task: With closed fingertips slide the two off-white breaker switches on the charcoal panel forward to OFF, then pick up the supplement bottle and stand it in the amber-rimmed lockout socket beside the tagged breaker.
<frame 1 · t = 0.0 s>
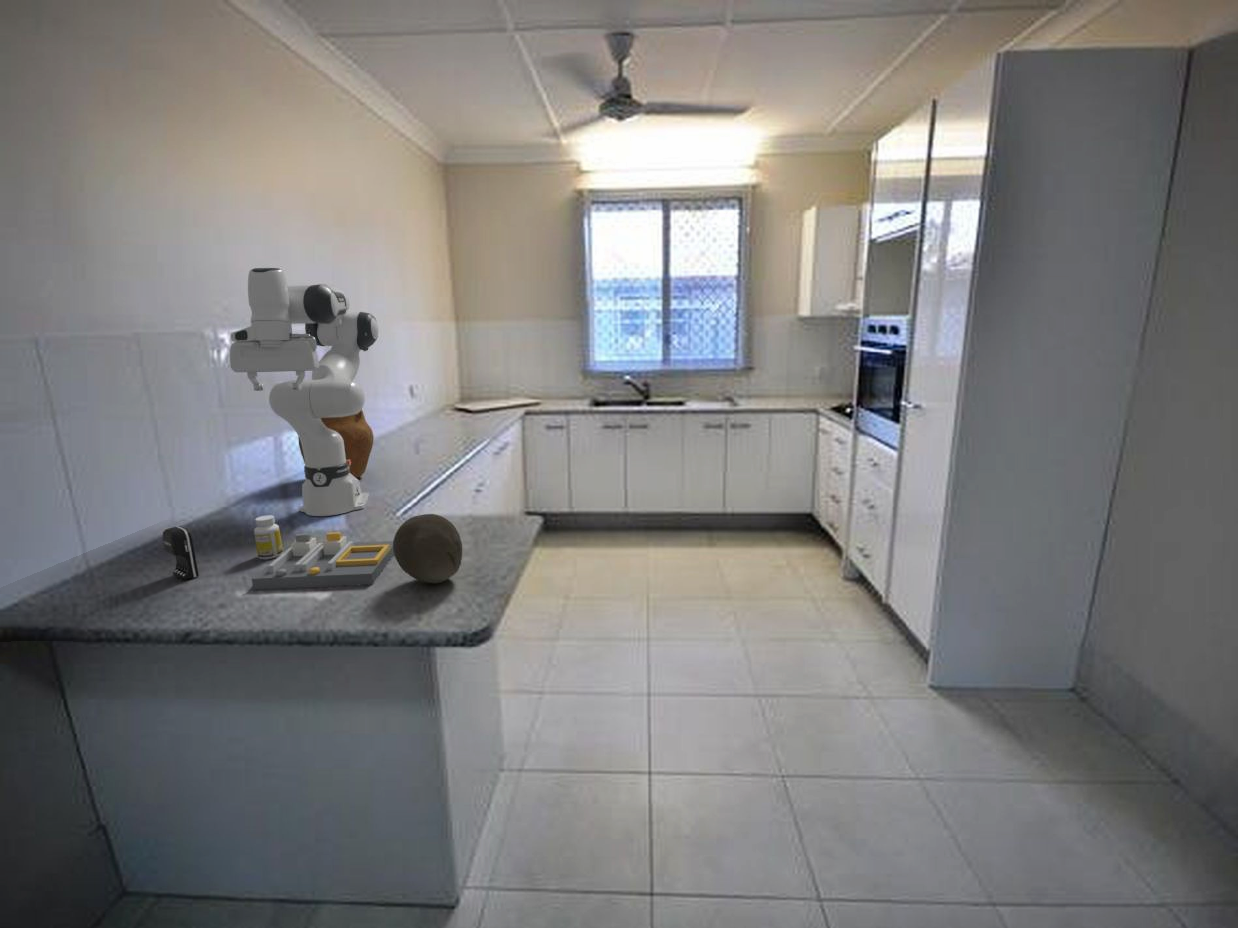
hand: (278, 390, 157), 39 cm above the countertop, tool pointing down, fingers open, 8 cm apart
supplement bottle: (271, 556, 153), on the countertop
breaker panel: (331, 568, 144), on the countertop
black electronic device: (184, 577, 141), on the countertop
dark brown ball: (431, 582, 136), on the countertop
breaker 1: (304, 543, 146), point 5 cm above the countertop, slide at 0.0 cm
breaker 2: (334, 542, 147), point 5 cm above the countertop, slide at 0.0 cm
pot: (342, 479, 224), on the countertop
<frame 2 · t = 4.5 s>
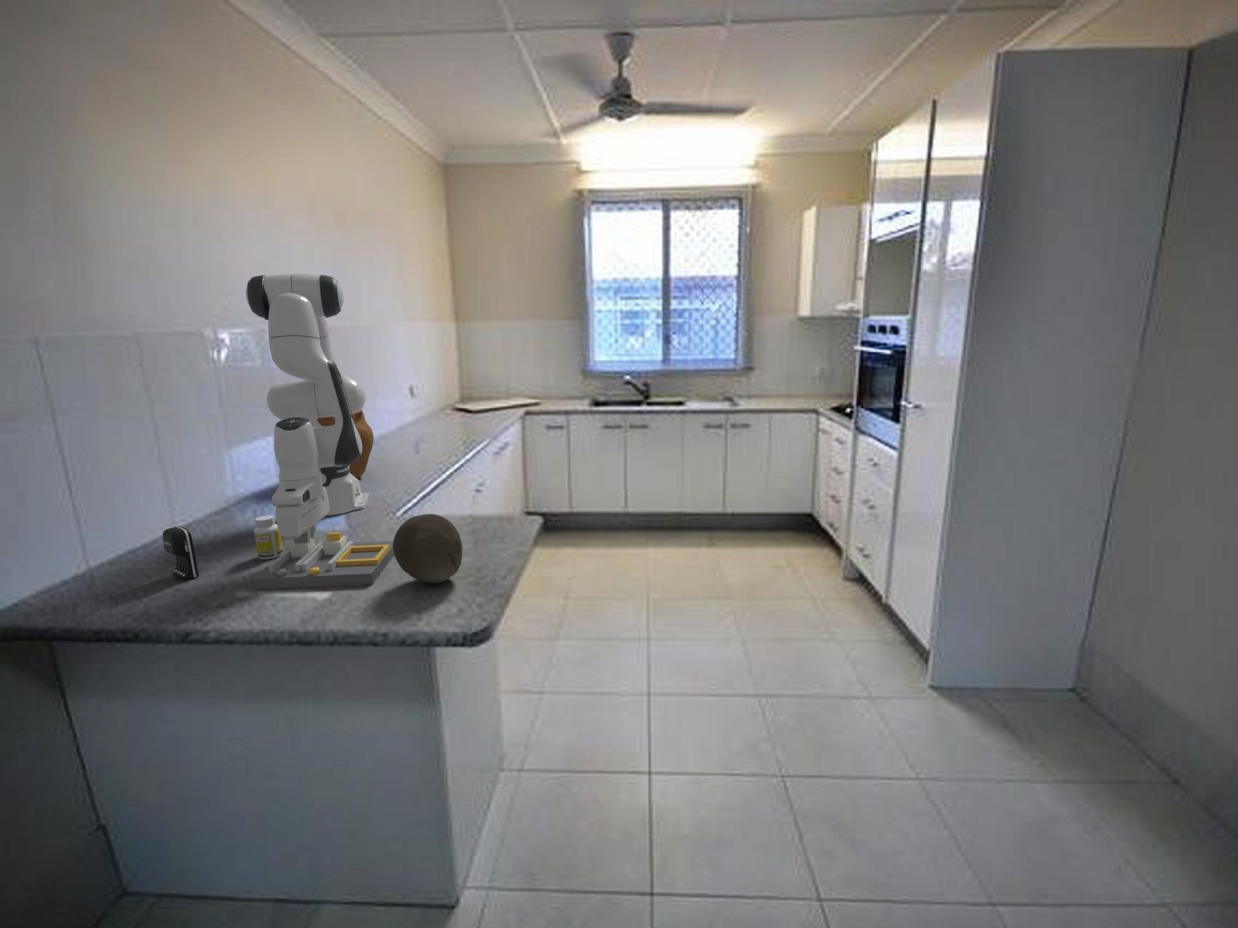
hand: (309, 543, 149), 4 cm above the countertop, tool pointing down, fingers closed
breaker 1: (302, 544, 146), point 5 cm above the countertop, slide at 0.9 cm, touching gripper
everything else where it was.
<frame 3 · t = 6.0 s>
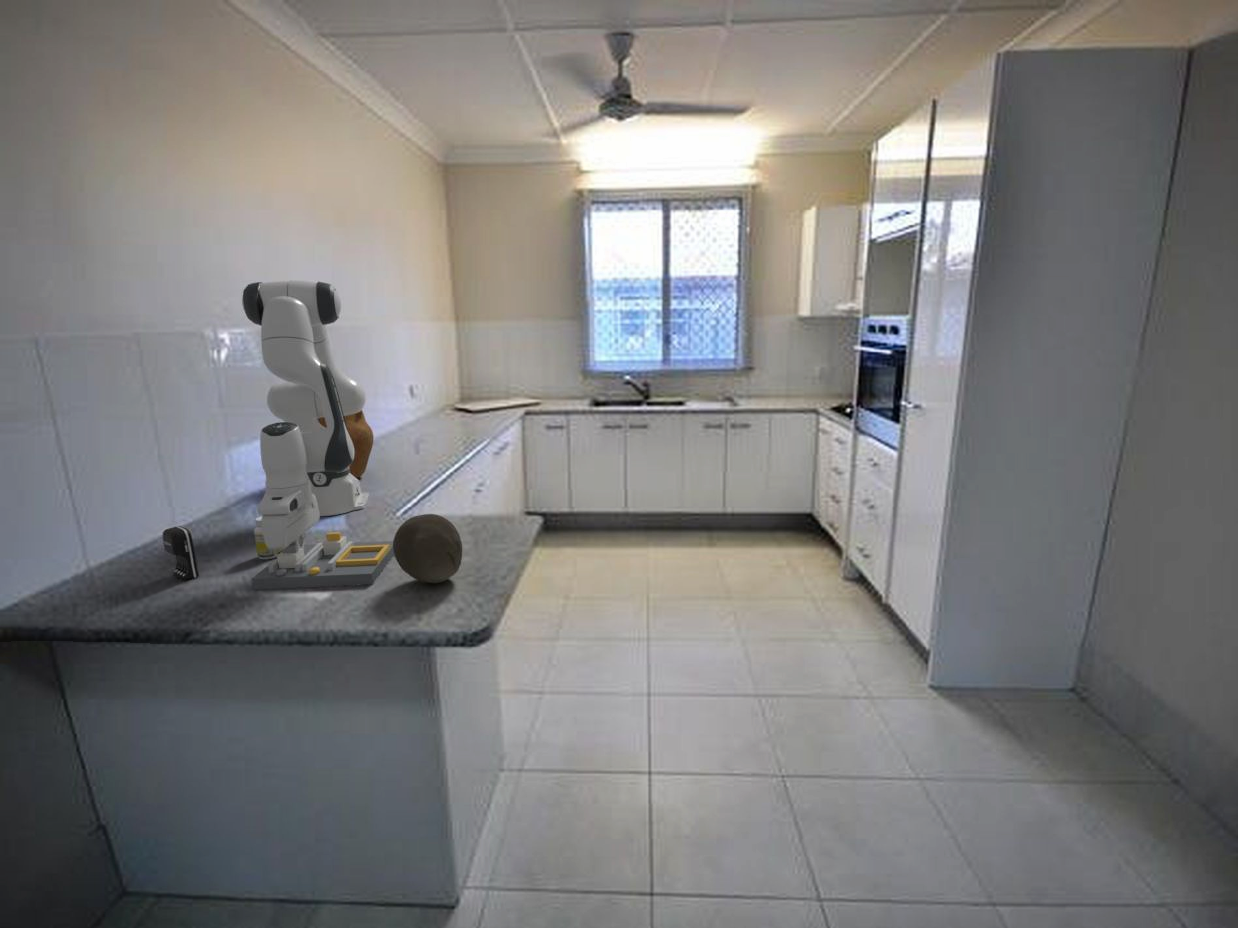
hand: (298, 553, 143), 4 cm above the countertop, tool pointing down, fingers closed
breaker 1: (290, 554, 139), point 5 cm above the countertop, slide at 7.1 cm, touching gripper
everything else where it was.
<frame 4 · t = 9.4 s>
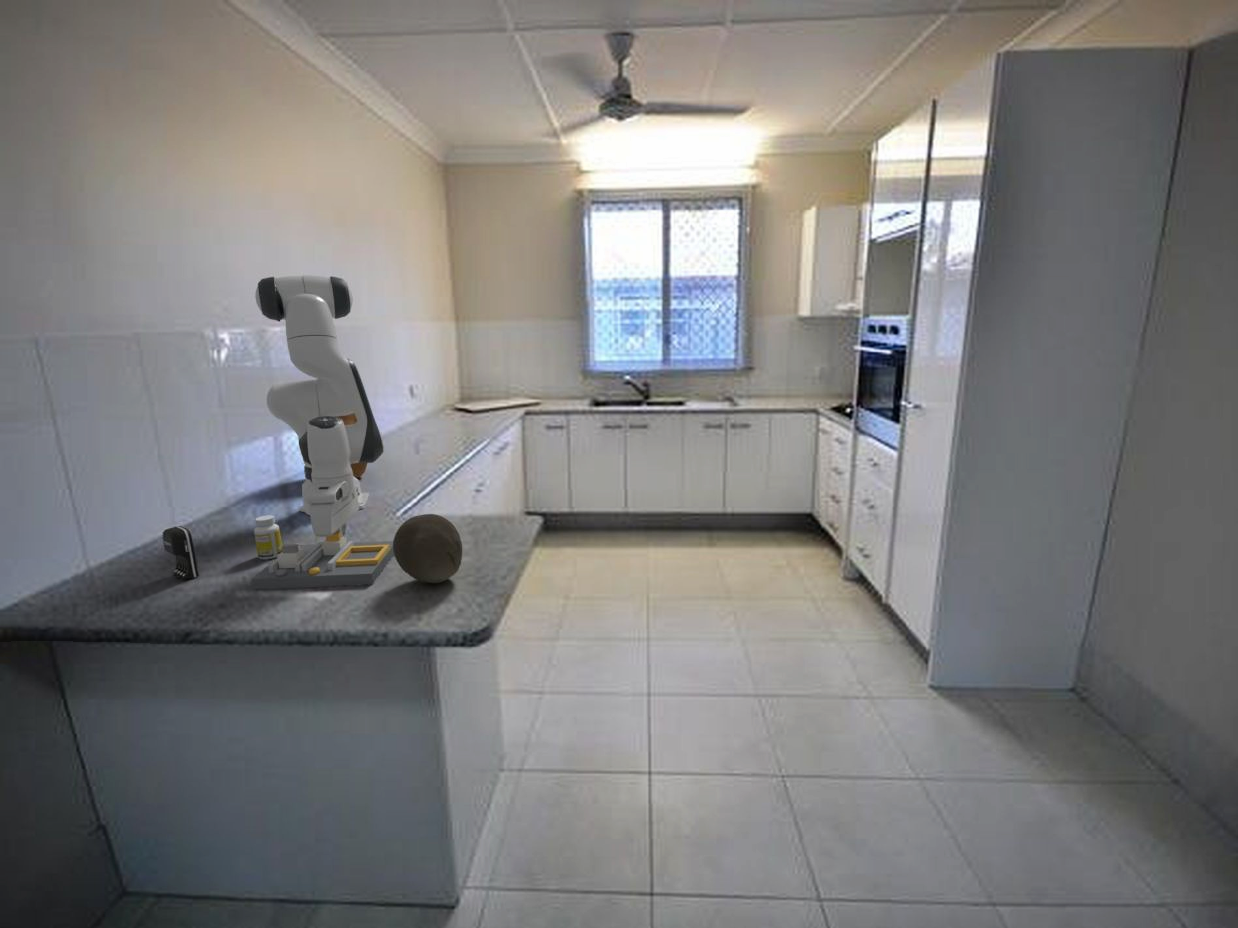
hand: (341, 541, 150), 4 cm above the countertop, tool pointing down, fingers closed
breaker 1: (291, 554, 139), point 5 cm above the countertop, slide at 7.0 cm
breaker 2: (334, 542, 147), point 5 cm above the countertop, slide at 0.3 cm, touching gripper
everything else where it was.
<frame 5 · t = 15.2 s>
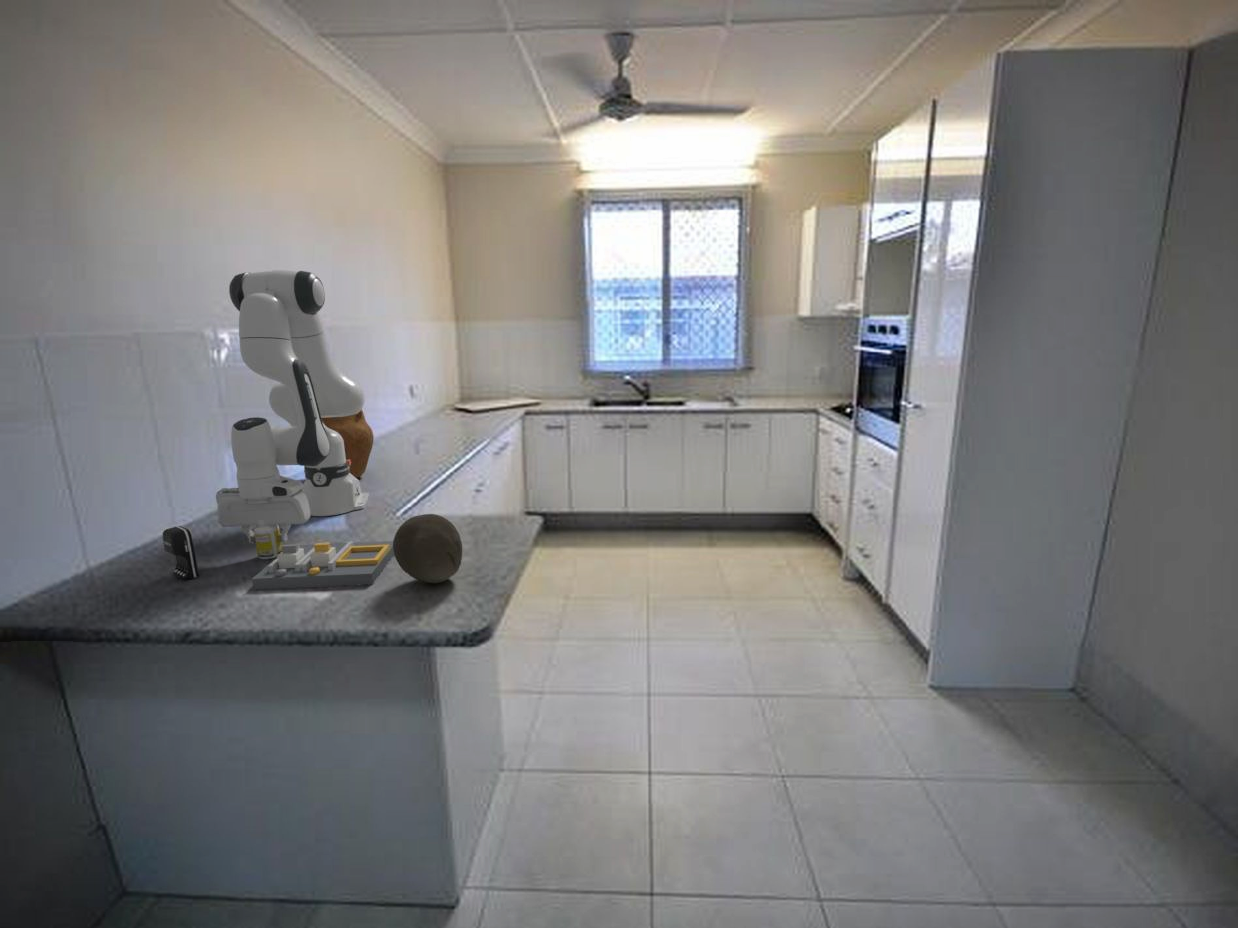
hand: (268, 541, 152), 4 cm above the countertop, tool pointing down, fingers closed on supplement bottle, 5 cm apart
supplement bottle: (271, 556, 153), on the countertop, touching gripper
breaker 2: (323, 553, 140), point 5 cm above the countertop, slide at 7.0 cm
everything else where it was.
when the fingers open (7 cm above the countertop, at t = 21.0 s): supplement bottle stays where it is, resting on breaker panel.
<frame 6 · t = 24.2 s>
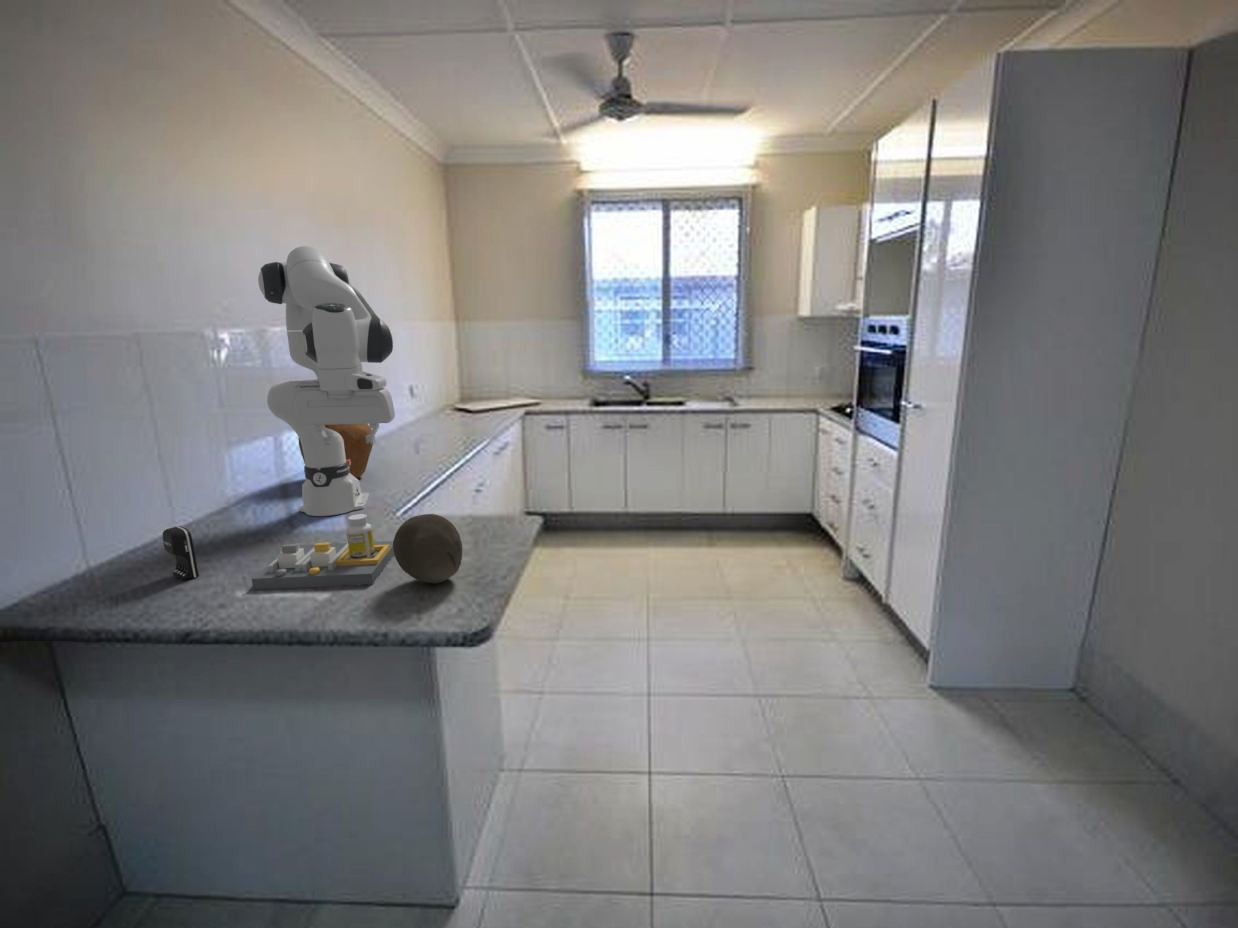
hand: (349, 444, 138), 29 cm above the countertop, tool pointing down, fingers open, 8 cm apart
supplement bottle: (362, 557, 144), point 2 cm above the countertop, touching breaker panel
everything else where it was.
at the end: breaker 1 slide at 7.0 cm; breaker 2 slide at 7.0 cm; supplement bottle inside the target area on the breaker panel (0.1 cm from its centre), point 2.3 cm above the breaker panel's base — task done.
